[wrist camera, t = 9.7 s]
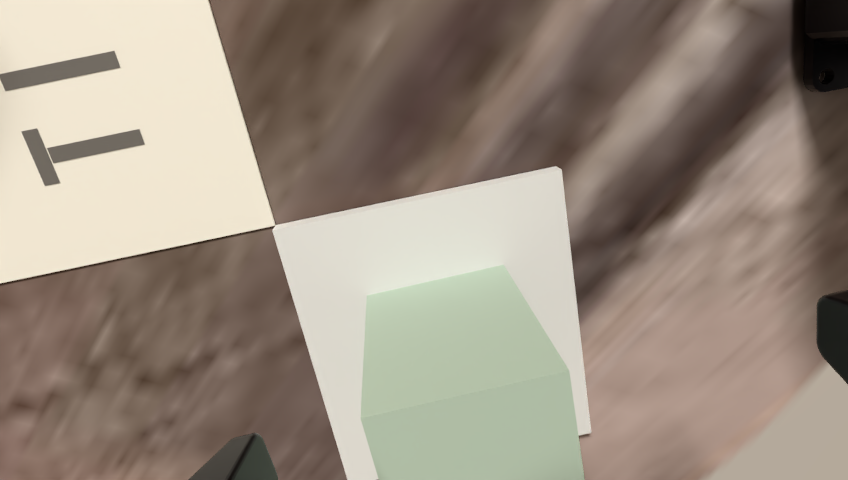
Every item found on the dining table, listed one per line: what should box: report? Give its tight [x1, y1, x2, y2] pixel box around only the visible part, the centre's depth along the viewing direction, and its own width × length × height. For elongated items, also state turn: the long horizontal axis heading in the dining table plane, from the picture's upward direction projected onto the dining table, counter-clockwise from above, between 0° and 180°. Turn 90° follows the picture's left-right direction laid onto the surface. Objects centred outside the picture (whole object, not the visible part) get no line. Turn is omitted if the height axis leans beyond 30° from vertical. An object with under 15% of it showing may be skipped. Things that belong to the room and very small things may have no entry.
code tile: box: [0, 0, 276, 283], centre depth 17 cm, size 10×10×1 cm
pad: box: [272, 166, 591, 480], centre depth 20 cm, size 10×11×1 cm
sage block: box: [361, 265, 585, 480], centre depth 17 cm, size 5×5×7 cm
